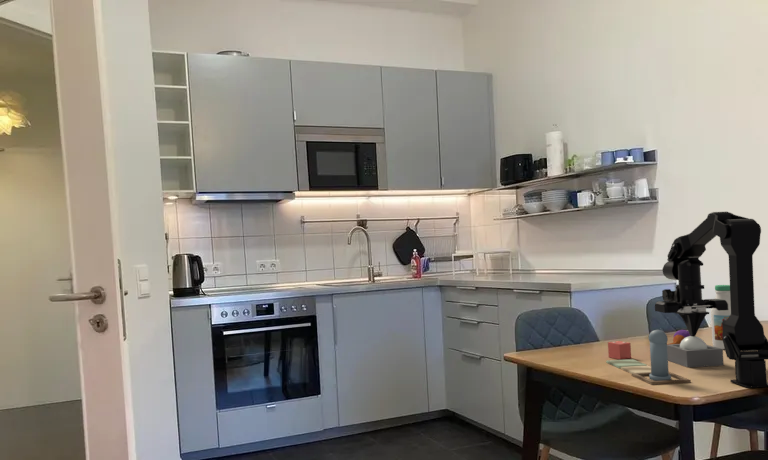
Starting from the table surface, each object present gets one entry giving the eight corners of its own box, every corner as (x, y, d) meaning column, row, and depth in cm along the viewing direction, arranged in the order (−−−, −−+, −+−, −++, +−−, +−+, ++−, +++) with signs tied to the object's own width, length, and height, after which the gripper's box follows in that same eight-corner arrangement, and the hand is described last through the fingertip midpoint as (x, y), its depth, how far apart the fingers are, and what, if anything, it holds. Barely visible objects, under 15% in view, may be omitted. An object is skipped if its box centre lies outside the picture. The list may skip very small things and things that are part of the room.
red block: (631, 357, 173) (630, 342, 173) (620, 359, 171) (619, 343, 171) (619, 355, 177) (618, 340, 177) (608, 357, 175) (607, 341, 175)
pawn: (675, 380, 143) (672, 330, 144) (655, 381, 143) (653, 331, 143) (664, 376, 148) (661, 328, 149) (645, 377, 148) (643, 328, 148)
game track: (690, 382, 141) (690, 379, 141) (651, 384, 140) (651, 382, 140) (636, 361, 168) (636, 358, 168) (603, 362, 167) (602, 360, 167)
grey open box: (723, 365, 158) (722, 349, 158) (687, 367, 157) (686, 350, 157) (700, 358, 168) (699, 342, 168) (666, 360, 168) (665, 344, 168)
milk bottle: (707, 347, 184) (703, 285, 185) (724, 345, 187) (721, 283, 188) (729, 351, 177) (725, 286, 178) (746, 348, 180) (742, 285, 180)
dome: (714, 362, 159) (712, 337, 160) (689, 363, 159) (688, 338, 159) (698, 357, 167) (697, 333, 167) (674, 358, 166) (673, 334, 166)
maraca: (650, 342, 177) (675, 329, 190) (656, 361, 176) (680, 346, 190) (670, 340, 172) (693, 327, 186) (675, 360, 172) (699, 345, 185)
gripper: (703, 278, 172) (706, 330, 172) (643, 281, 171) (646, 333, 170) (728, 280, 161) (731, 336, 160) (664, 283, 160) (667, 339, 159)
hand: (692, 336), depth 163 cm, fingers closed, pressing on dome
